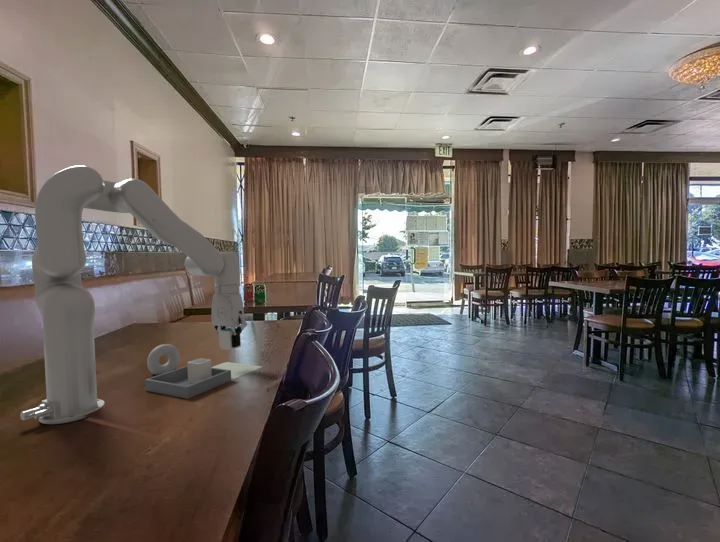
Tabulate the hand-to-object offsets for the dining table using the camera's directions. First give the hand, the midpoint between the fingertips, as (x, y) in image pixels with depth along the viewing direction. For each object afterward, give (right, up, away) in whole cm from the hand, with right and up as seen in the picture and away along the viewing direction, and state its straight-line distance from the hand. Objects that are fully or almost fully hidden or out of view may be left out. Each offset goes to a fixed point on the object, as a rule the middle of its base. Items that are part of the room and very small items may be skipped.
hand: (230, 345), depth 118 cm
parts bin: (-6, -9, -14) cm, 18 cm away
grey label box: (-5, -8, -11) cm, 14 cm away
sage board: (0, -9, 0) cm, 9 cm away
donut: (-21, -10, -1) cm, 23 cm away
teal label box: (0, -1, 0) cm, 1 cm away
